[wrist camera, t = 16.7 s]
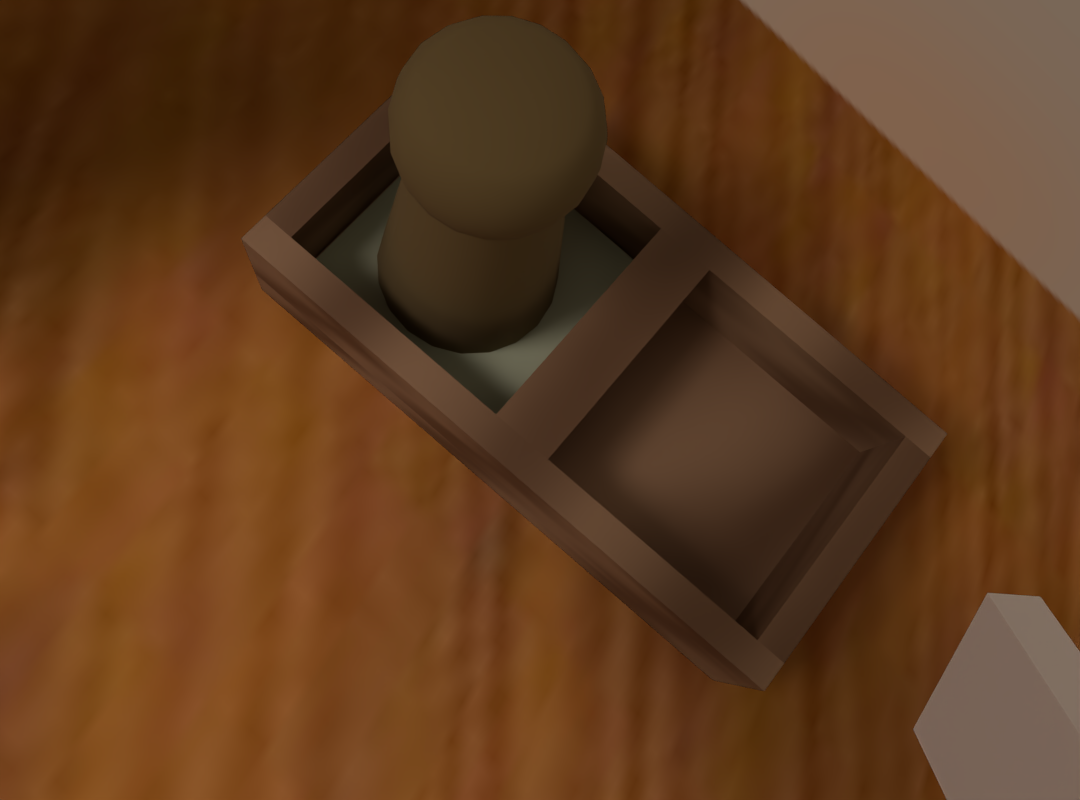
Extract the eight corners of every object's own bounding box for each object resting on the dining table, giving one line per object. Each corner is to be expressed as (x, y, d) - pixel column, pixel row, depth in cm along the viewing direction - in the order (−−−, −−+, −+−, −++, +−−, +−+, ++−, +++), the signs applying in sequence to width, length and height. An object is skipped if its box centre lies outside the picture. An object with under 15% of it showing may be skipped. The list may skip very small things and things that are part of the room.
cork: (498, 153, 33) (549, -69, 22) (591, 299, 32) (690, 144, 21) (342, 232, 31) (315, 35, 20) (437, 387, 30) (459, 266, 20)
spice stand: (261, 289, 32) (240, 238, 28) (456, 98, 35) (465, 25, 30) (712, 680, 31) (764, 690, 27) (876, 456, 34) (947, 433, 30)
